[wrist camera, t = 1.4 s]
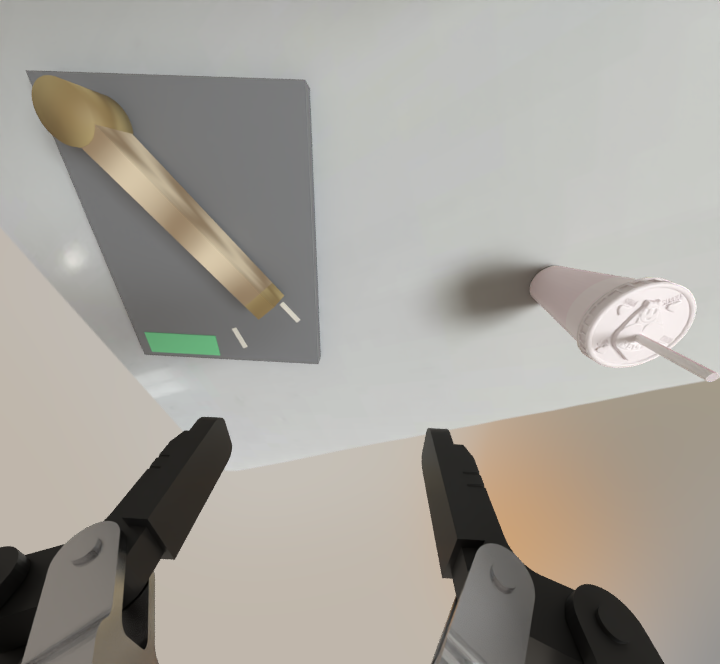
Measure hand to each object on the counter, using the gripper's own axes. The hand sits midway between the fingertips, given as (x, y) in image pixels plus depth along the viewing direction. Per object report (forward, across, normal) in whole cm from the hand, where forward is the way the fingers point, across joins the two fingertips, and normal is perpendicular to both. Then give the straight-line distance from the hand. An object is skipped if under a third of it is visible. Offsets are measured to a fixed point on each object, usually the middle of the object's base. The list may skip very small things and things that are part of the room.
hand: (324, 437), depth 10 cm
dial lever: (+17, +14, -7) cm, 22 cm away
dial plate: (+18, +14, -4) cm, 23 cm away
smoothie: (+18, -19, -1) cm, 27 cm away
